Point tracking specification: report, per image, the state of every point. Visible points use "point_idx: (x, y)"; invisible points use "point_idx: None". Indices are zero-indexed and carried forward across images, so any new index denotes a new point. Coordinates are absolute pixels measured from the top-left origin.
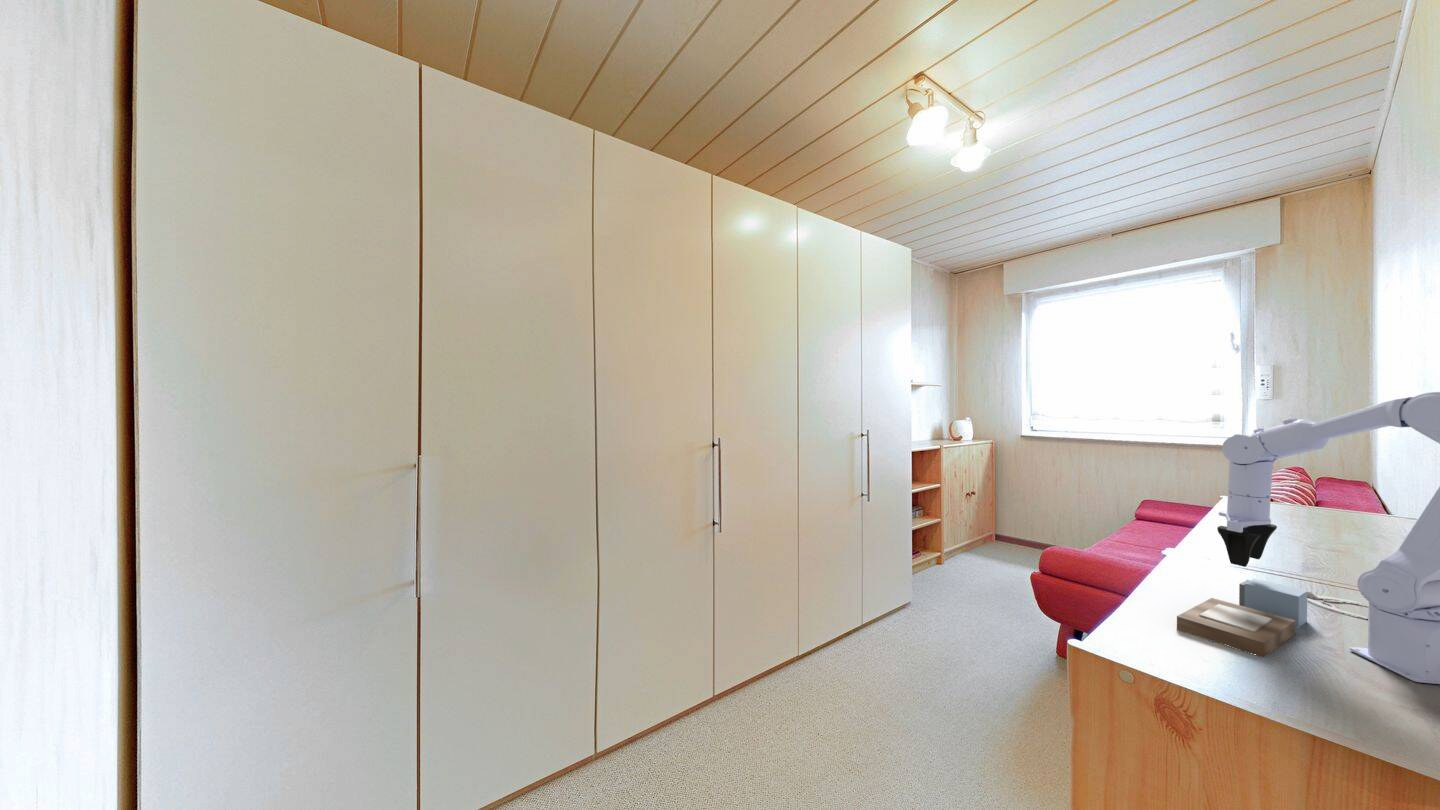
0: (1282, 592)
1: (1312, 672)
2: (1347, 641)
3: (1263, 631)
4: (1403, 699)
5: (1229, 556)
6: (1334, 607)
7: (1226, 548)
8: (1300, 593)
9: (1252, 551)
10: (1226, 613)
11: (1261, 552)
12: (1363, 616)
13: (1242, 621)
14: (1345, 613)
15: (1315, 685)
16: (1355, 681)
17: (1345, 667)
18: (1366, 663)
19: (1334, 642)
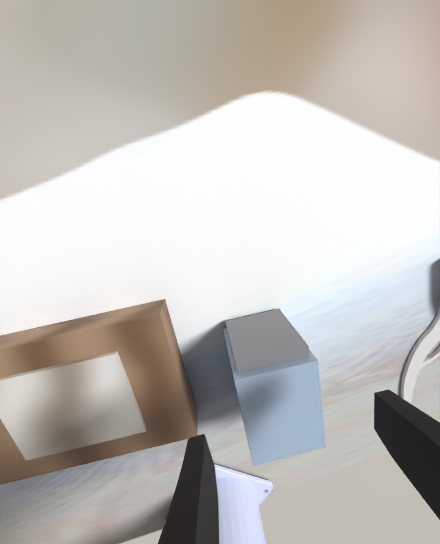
0: (248, 443)
1: (48, 489)
2: None
3: (57, 456)
4: (89, 540)
5: (181, 474)
6: (424, 363)
7: (162, 532)
8: (285, 454)
9: (401, 444)
10: (65, 395)
11: (404, 472)
12: (410, 398)
13: (54, 429)
14: (403, 382)
15: (4, 510)
16: (84, 510)
17: (124, 487)
18: (174, 484)
19: (222, 439)
